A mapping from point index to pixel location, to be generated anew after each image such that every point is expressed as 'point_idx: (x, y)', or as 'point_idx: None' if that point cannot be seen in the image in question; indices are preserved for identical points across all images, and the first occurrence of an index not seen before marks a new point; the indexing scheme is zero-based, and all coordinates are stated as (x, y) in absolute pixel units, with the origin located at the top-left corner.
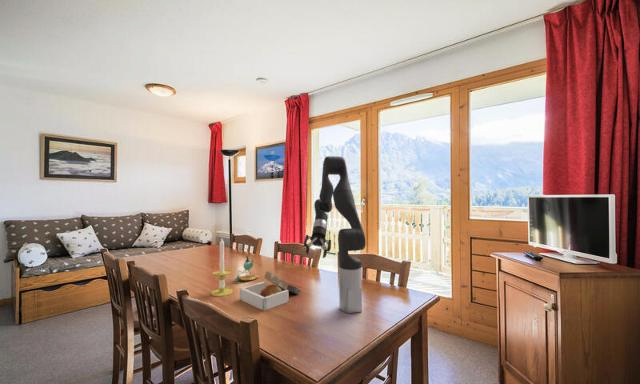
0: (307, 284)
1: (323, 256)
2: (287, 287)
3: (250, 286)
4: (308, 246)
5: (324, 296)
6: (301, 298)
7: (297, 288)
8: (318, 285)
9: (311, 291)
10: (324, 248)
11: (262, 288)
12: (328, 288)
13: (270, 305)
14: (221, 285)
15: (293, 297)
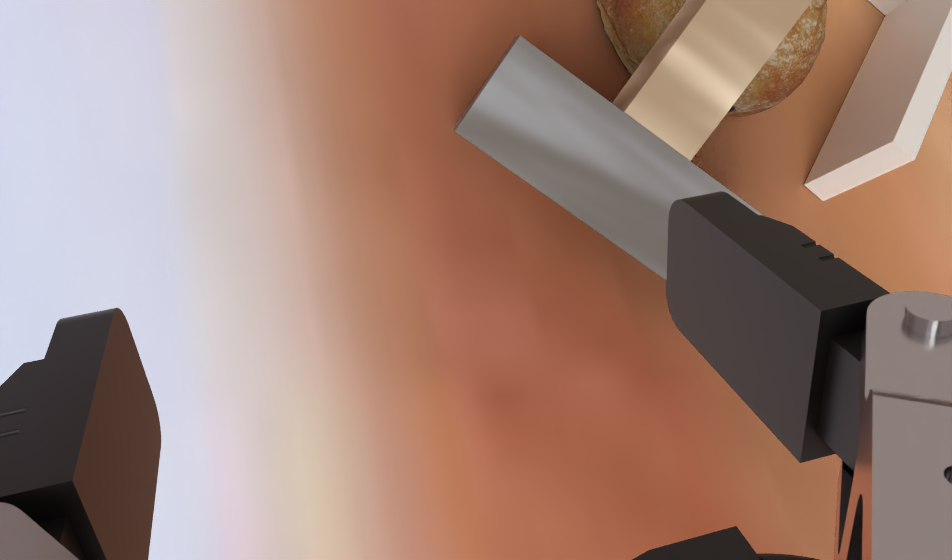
0: (426, 538)
1: (122, 312)
2: (619, 104)
3: (950, 8)
4: (867, 302)
5: (100, 60)
6: (393, 10)
7: (493, 74)
8: (240, 520)
9: (313, 240)
10: (63, 551)
11: (855, 138)
12: None
13: None
14: None
15: (488, 42)
